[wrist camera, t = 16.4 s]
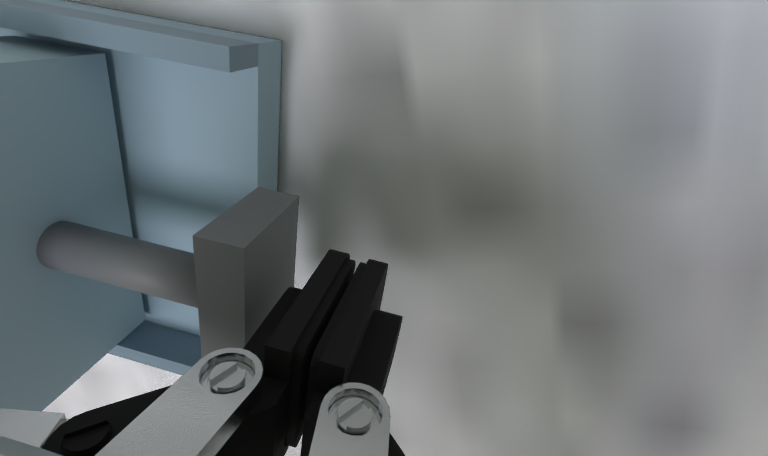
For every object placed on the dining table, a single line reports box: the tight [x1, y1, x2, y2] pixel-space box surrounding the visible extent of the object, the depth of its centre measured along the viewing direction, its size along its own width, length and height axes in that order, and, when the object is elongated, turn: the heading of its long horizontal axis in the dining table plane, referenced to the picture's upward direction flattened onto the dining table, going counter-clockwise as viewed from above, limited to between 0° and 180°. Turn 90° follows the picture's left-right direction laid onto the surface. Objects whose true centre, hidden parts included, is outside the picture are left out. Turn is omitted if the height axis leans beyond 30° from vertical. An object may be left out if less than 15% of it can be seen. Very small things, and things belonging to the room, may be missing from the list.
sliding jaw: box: [0, 36, 299, 411], centre depth 12 cm, size 10×10×6 cm
